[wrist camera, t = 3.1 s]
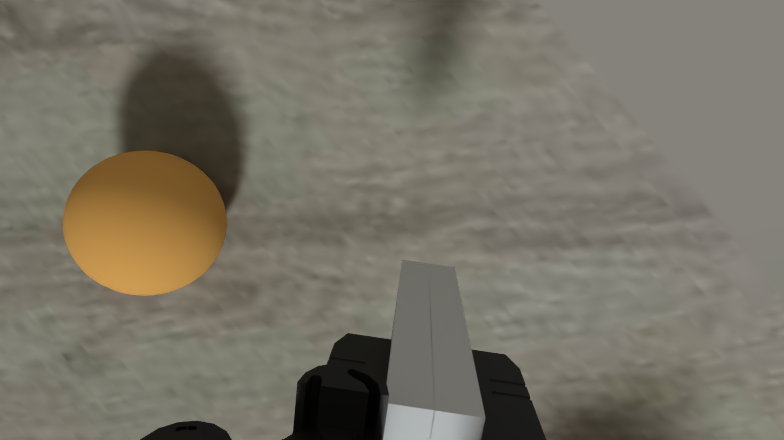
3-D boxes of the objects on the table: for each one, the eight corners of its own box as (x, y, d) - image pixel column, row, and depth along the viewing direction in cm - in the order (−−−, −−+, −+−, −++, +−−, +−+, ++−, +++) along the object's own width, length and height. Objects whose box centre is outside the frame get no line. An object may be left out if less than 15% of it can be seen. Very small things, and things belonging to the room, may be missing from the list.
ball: (124, 257, 21) (26, 309, 16) (122, 136, 20) (15, 148, 14) (243, 274, 21) (186, 330, 16) (249, 153, 20) (189, 171, 14)
